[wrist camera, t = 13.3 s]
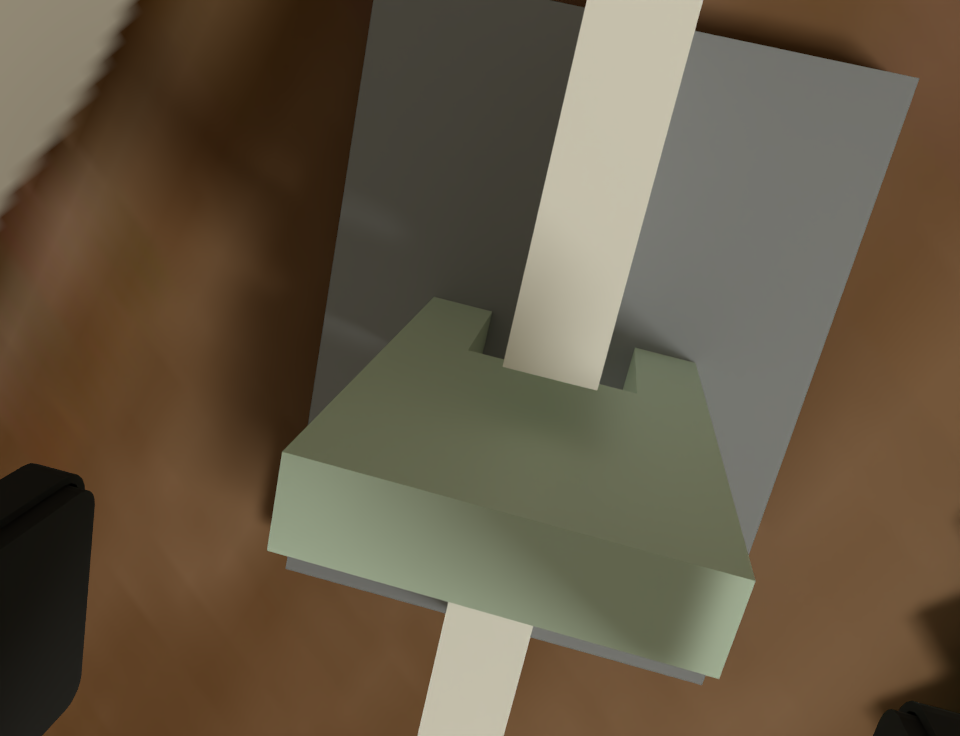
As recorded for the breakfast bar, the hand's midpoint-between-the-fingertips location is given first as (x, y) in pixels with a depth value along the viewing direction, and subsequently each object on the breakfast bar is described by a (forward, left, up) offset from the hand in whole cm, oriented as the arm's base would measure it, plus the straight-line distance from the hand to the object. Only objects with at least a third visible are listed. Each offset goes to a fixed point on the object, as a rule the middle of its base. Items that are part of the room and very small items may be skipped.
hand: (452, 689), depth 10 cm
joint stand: (0, 0, -14) cm, 14 cm away
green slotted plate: (0, 0, -12) cm, 12 cm away
